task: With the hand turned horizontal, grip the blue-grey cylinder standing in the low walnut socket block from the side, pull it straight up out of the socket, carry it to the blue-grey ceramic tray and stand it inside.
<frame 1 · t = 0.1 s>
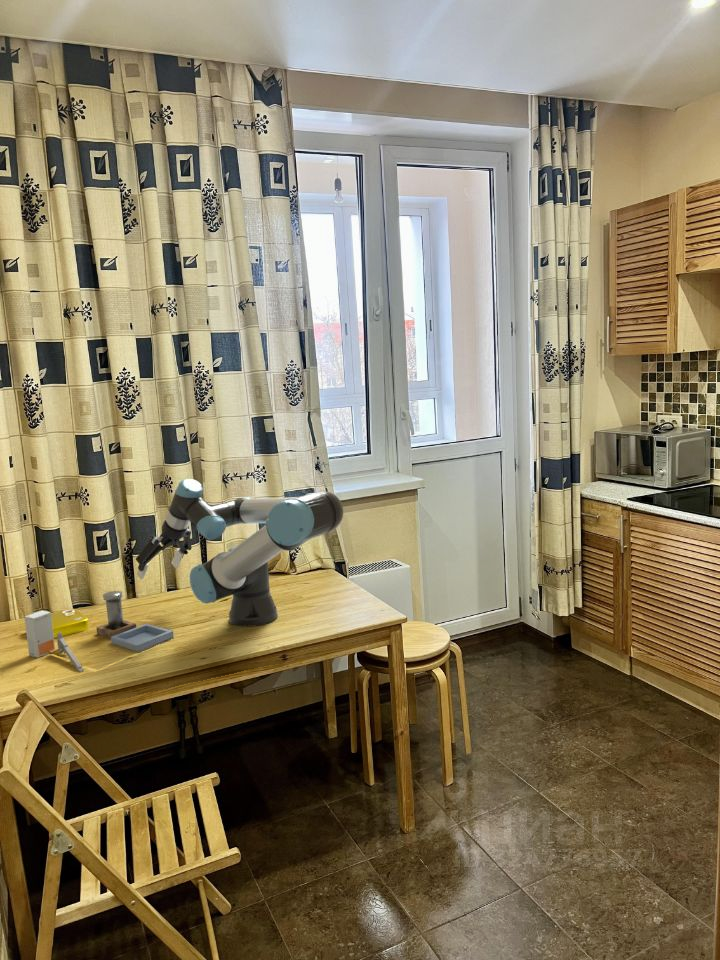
hand: (157, 571, 240), 15 cm above the table, tool tilted 35°, fingers open, 13 cm apart
tray: (142, 641, 221), on the table
element tile: (60, 632, 234), on the table
socket block: (117, 633, 229), on the table
caliper: (70, 662, 209), on the table
skincare box: (42, 654, 216), on the table
blue-grey cylinder: (116, 631, 229), point 1 cm above the table, touching socket block
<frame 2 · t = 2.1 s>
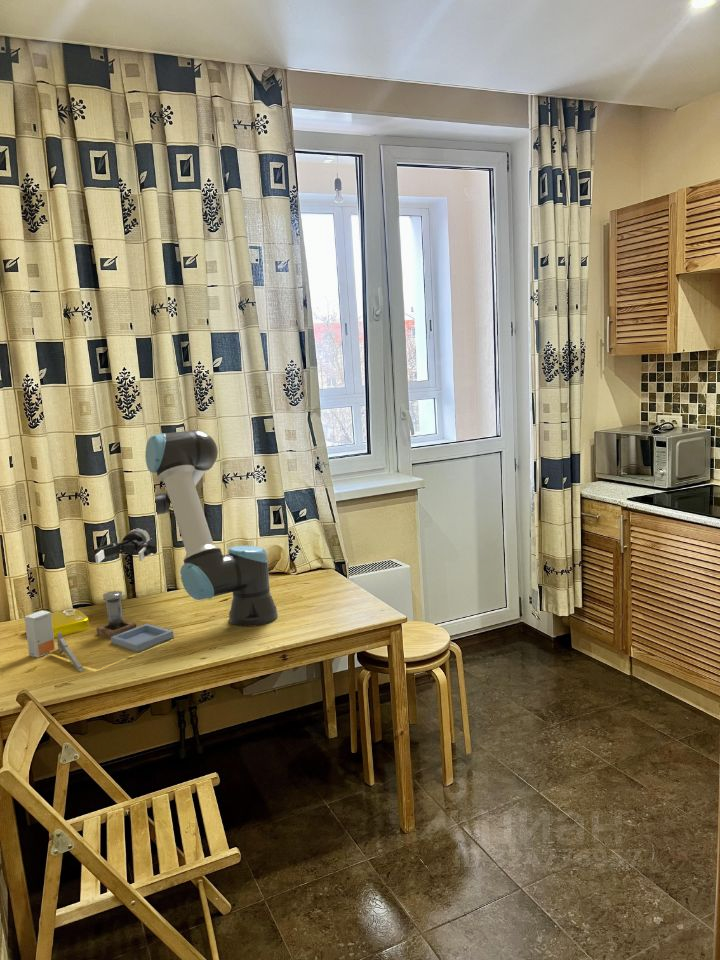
hand: (118, 558, 235), 21 cm above the table, tool horizontal, fingers open, 13 cm apart
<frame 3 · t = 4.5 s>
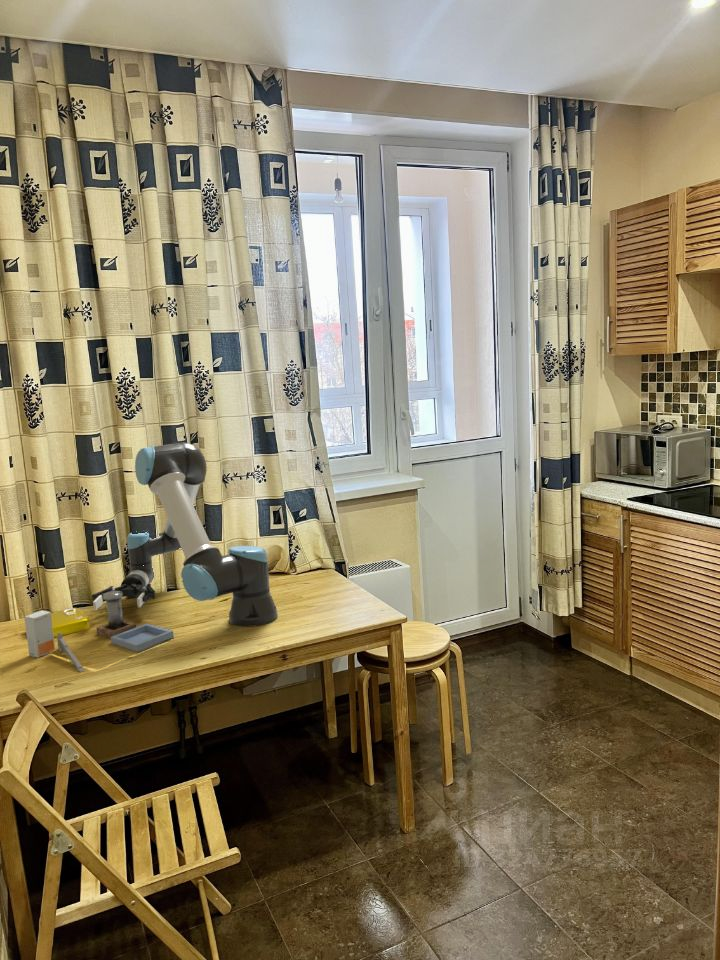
hand: (116, 604, 232), 8 cm above the table, tool horizontal, fingers open, 13 cm apart
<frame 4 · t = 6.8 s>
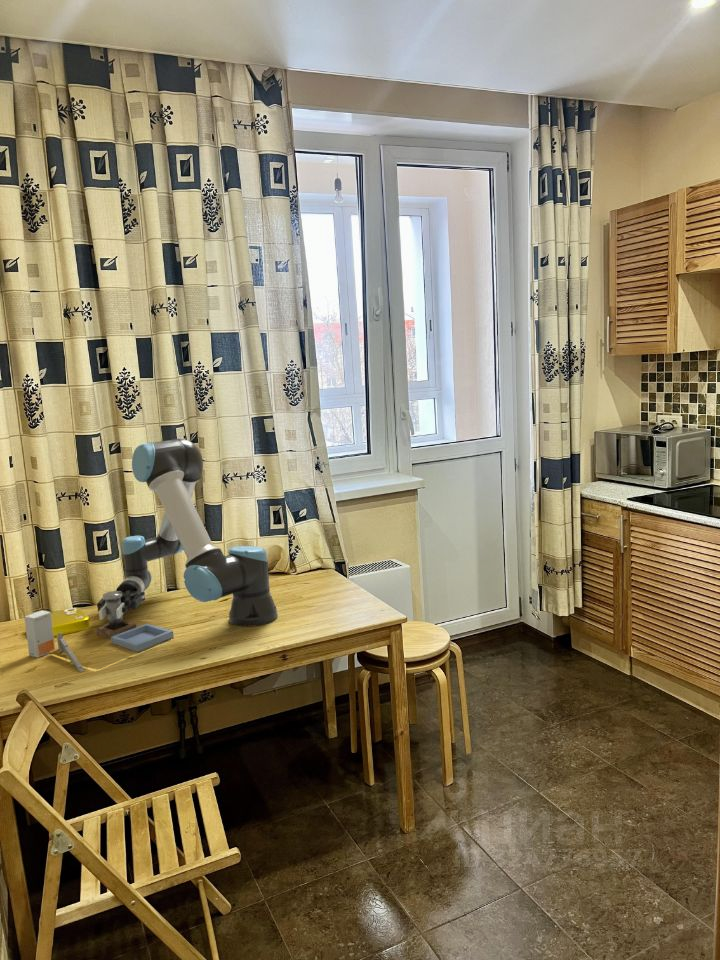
hand: (109, 614, 222), 8 cm above the table, tool horizontal, fingers closed on blue-grey cylinder, 4 cm apart
blue-grey cylinder: (116, 631, 229), point 1 cm above the table, touching gripper, socket block
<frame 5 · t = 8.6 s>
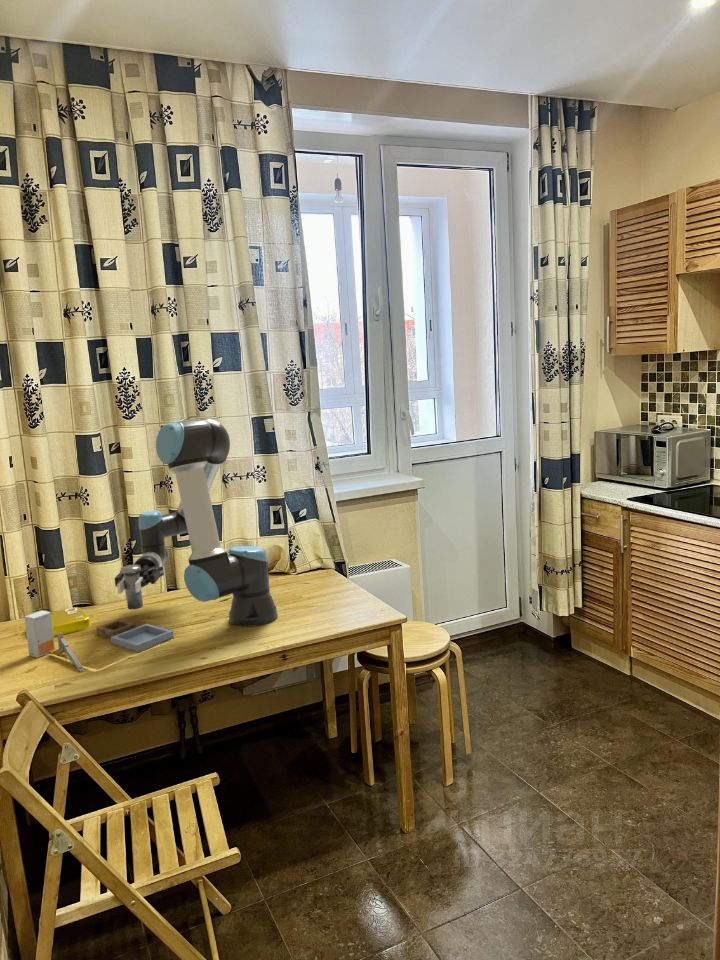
hand: (127, 588, 214), 18 cm above the table, tool horizontal, fingers closed on blue-grey cylinder, 4 cm apart
blue-grey cylinder: (135, 606, 220), point 10 cm above the table, touching gripper
when the fingers open (9 cm above the table, at t = 10.7 s): blue-grey cylinder stays where it is, resting on tray.
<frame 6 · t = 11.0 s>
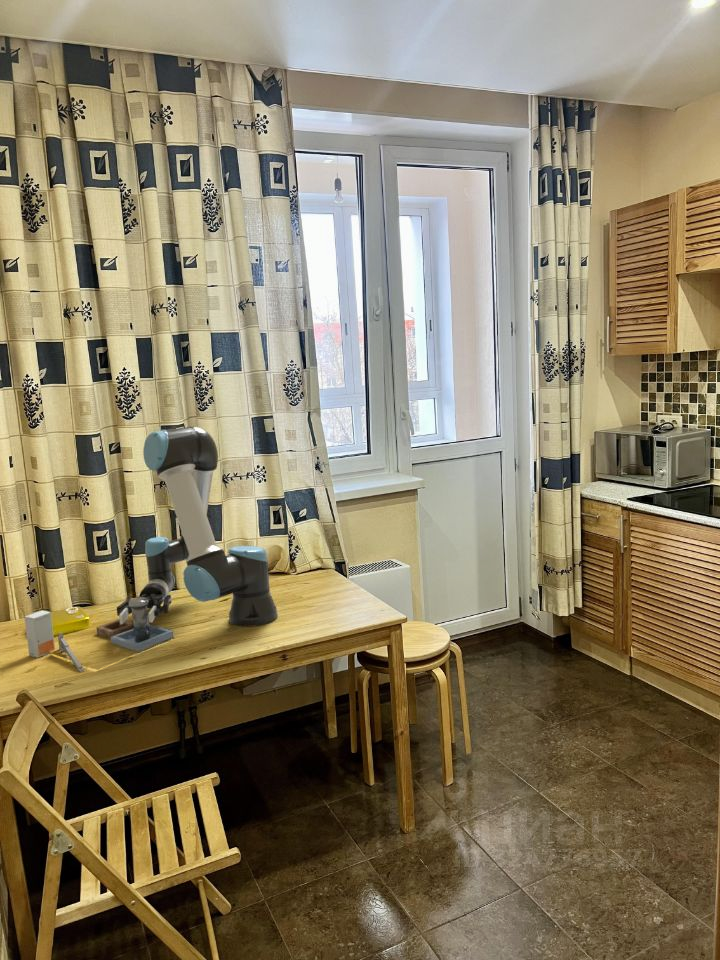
hand: (135, 618, 215), 9 cm above the table, tool horizontal, fingers open, 8 cm apart
blue-grey cylinder: (142, 639, 221), point 1 cm above the table, touching tray
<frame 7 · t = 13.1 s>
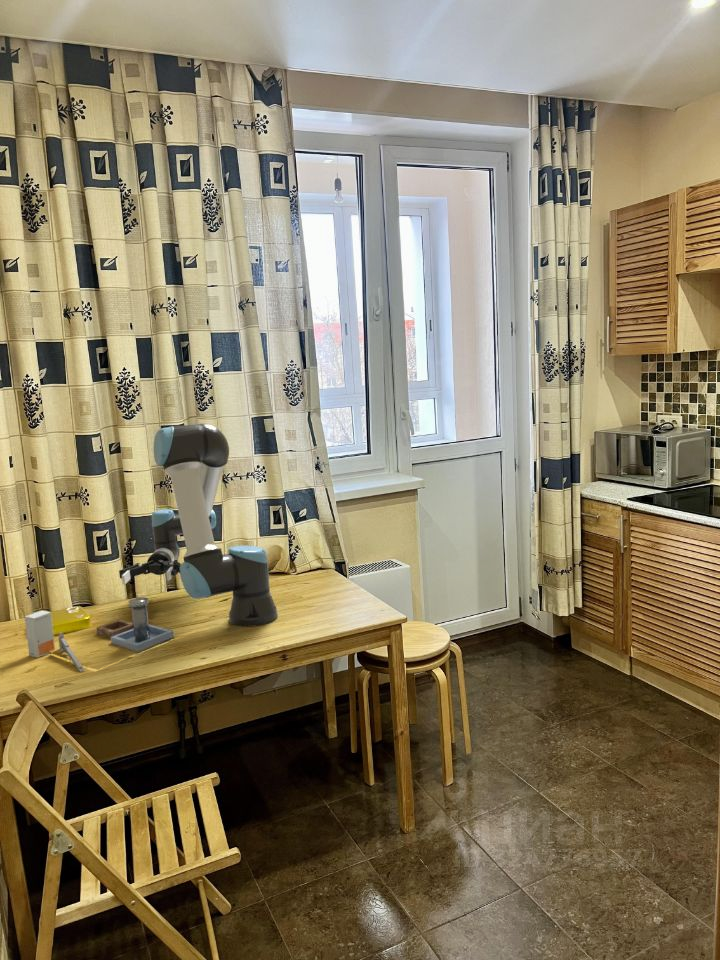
hand: (145, 578, 229), 16 cm above the table, tool horizontal, fingers open, 13 cm apart
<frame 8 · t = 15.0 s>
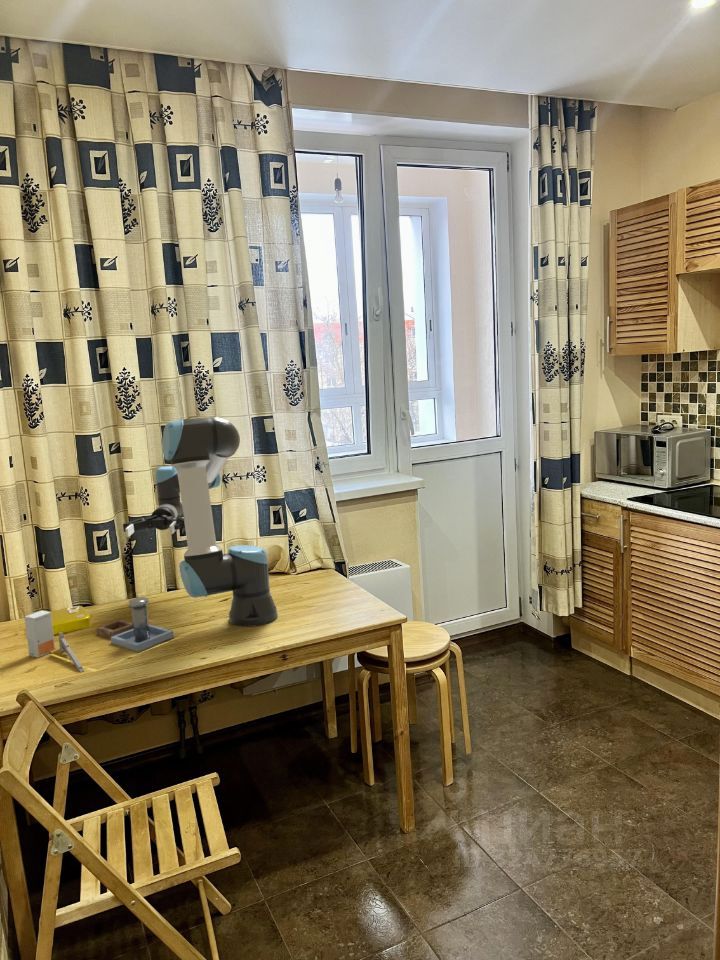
hand: (149, 531, 231), 30 cm above the table, tool horizontal, fingers open, 13 cm apart
at the end: blue-grey cylinder inside the target area on the tray (0.1 cm from its centre), point 0.6 cm above the tray's base; the gripper is holding nothing; blue-grey cylinder moved 12.9 cm from its start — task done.
